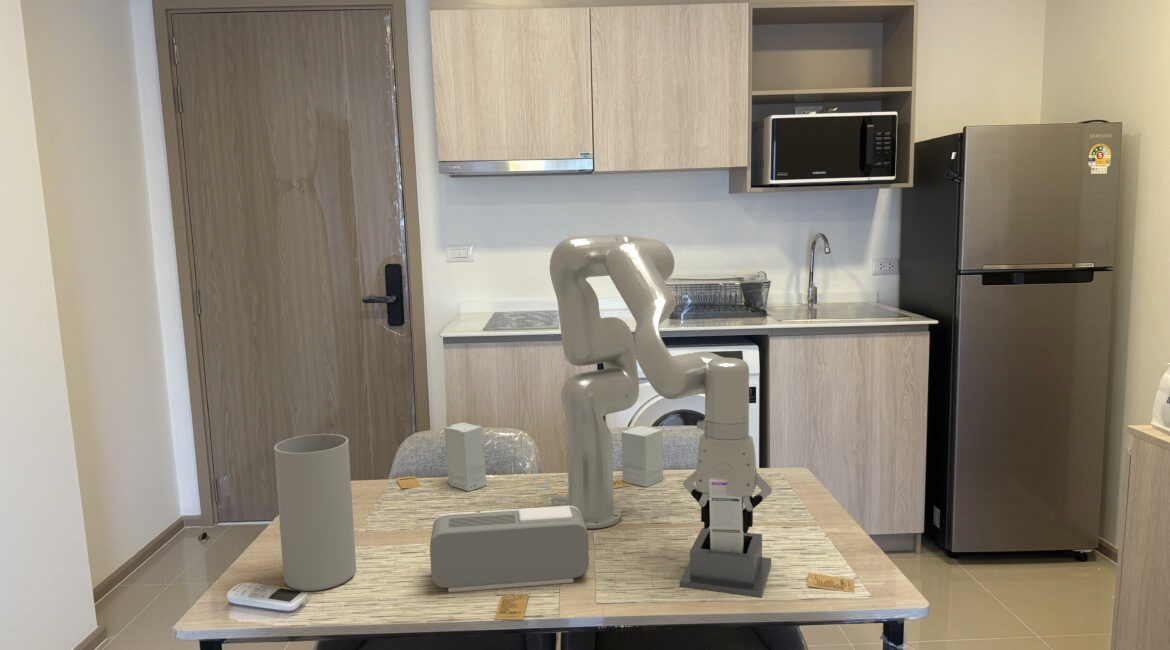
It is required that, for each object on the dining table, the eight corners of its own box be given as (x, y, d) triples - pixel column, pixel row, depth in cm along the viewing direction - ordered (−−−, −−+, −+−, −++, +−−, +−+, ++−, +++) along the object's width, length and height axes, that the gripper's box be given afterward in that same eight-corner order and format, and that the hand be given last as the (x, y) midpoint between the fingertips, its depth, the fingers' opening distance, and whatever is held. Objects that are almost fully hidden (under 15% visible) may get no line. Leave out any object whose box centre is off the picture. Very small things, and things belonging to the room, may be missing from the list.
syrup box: (743, 559, 141) (743, 479, 139) (708, 557, 142) (708, 477, 140) (743, 546, 146) (744, 468, 144) (710, 544, 147) (710, 467, 145)
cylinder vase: (286, 598, 139) (275, 457, 136) (282, 570, 150) (272, 439, 147) (361, 584, 144) (352, 447, 141) (351, 557, 155) (343, 430, 152)
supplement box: (664, 480, 197) (663, 429, 195) (645, 488, 192) (645, 436, 190) (639, 474, 202) (639, 424, 200) (621, 481, 196) (620, 431, 195)
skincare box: (487, 486, 195) (484, 426, 193) (466, 492, 191) (464, 431, 189) (466, 479, 201) (464, 420, 199) (446, 484, 197) (443, 425, 195)
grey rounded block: (582, 561, 152) (581, 500, 150) (589, 583, 143) (588, 518, 141) (434, 572, 148) (431, 510, 147) (432, 595, 139) (428, 529, 138)
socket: (679, 586, 140) (679, 553, 140) (695, 554, 153) (695, 524, 153) (761, 597, 136) (761, 563, 135) (771, 563, 149) (771, 532, 148)
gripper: (673, 431, 140) (674, 530, 143) (775, 438, 135) (774, 541, 137) (682, 421, 147) (683, 515, 150) (779, 427, 142) (778, 525, 144)
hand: (726, 527), depth 143 cm, fingers closed on syrup box, 6 cm apart
